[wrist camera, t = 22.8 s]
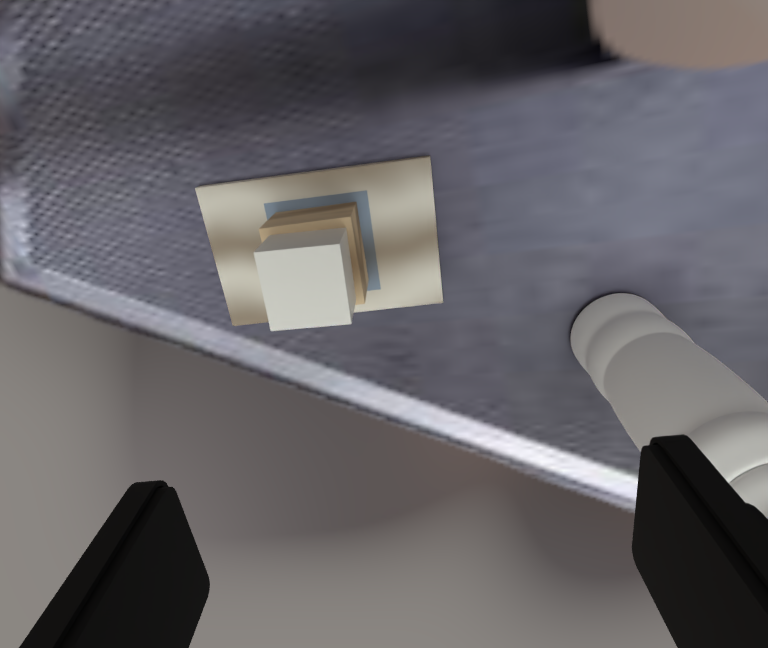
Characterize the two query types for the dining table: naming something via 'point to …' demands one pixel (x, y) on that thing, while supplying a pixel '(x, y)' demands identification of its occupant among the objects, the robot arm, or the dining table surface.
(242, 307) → the board
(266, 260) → the grey block
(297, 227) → the oak block
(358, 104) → the dining table surface
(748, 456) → the water bottle
